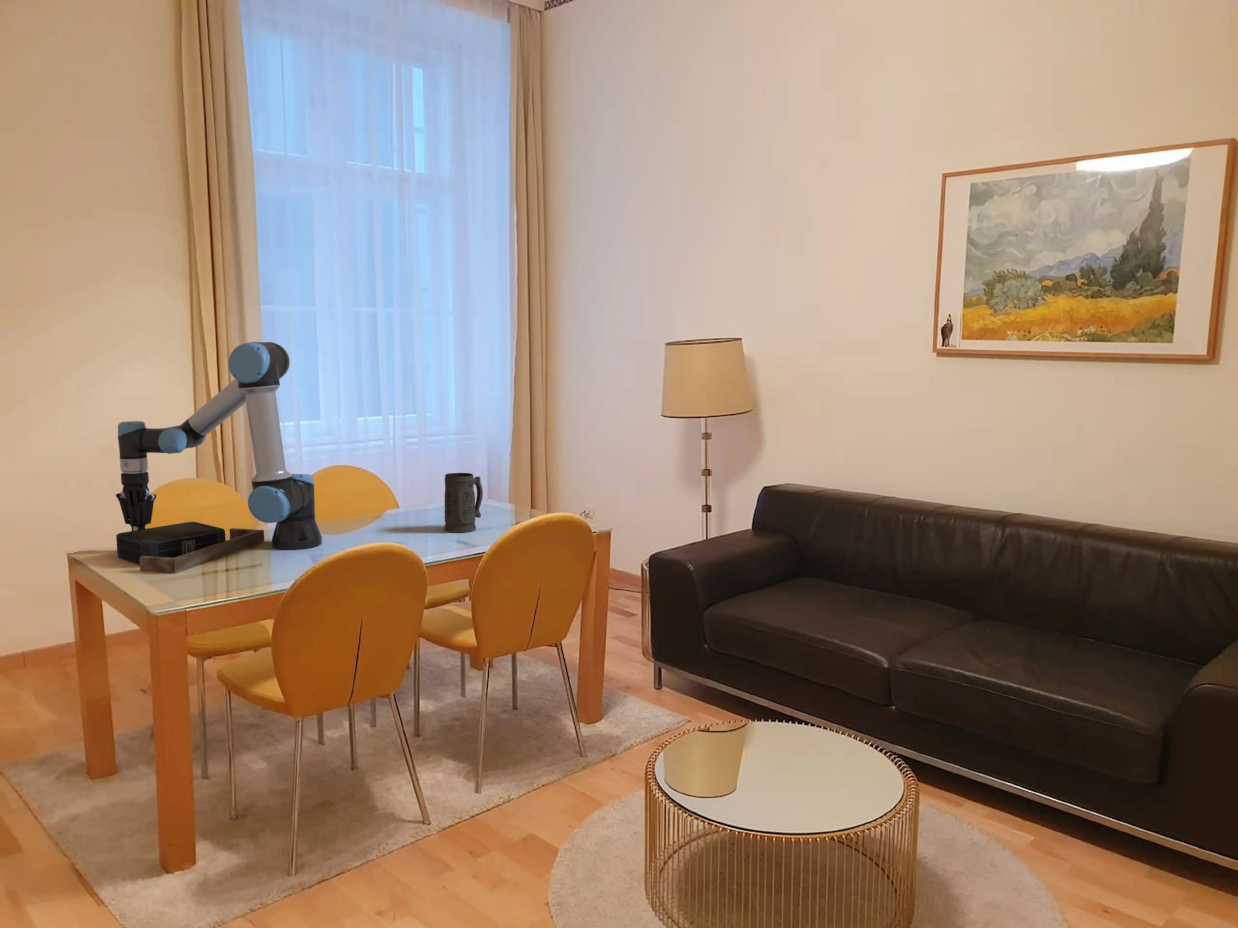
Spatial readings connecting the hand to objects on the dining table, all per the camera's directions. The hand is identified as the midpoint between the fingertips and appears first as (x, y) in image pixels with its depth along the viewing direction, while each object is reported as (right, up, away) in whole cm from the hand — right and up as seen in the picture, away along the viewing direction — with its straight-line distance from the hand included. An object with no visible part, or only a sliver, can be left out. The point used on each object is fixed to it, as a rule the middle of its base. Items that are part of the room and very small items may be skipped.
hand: (139, 546), depth 284 cm
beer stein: (+95, +3, +35) cm, 102 cm away
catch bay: (+23, -2, -5) cm, 24 cm away
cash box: (+13, -3, -4) cm, 14 cm away
